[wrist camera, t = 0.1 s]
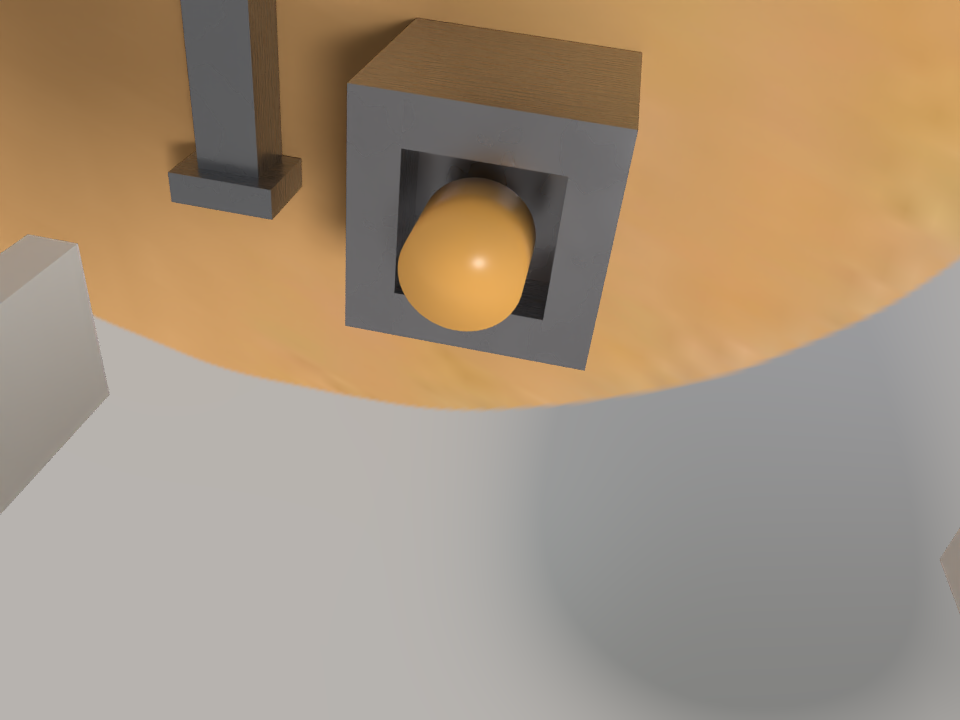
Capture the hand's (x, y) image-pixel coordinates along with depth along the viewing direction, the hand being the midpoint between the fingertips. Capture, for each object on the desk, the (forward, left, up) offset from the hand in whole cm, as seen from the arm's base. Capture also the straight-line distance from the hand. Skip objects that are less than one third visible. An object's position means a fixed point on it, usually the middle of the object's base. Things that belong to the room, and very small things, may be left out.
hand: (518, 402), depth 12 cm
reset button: (+7, -3, -18) cm, 20 cm away
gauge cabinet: (+7, -3, -28) cm, 29 cm away
